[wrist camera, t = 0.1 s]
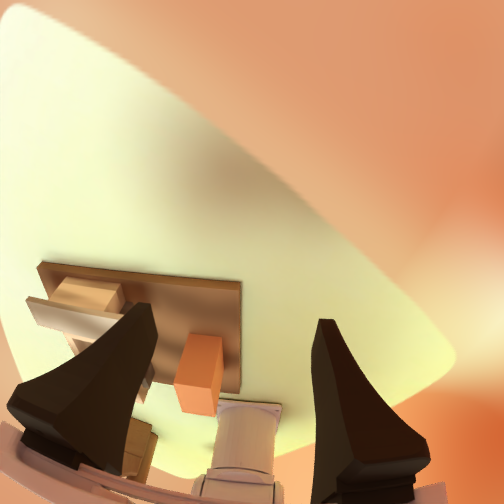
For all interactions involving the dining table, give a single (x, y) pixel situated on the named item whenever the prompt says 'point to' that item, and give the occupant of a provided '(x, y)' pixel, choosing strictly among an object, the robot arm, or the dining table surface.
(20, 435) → the robot arm
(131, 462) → the wooden toy
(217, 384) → the orange upright block
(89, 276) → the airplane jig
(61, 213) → the dining table surface
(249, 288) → the dining table surface
